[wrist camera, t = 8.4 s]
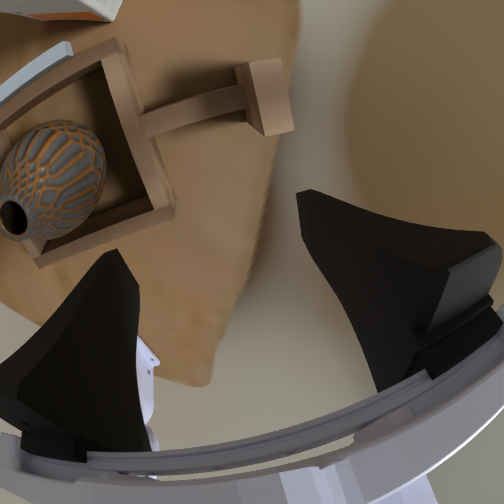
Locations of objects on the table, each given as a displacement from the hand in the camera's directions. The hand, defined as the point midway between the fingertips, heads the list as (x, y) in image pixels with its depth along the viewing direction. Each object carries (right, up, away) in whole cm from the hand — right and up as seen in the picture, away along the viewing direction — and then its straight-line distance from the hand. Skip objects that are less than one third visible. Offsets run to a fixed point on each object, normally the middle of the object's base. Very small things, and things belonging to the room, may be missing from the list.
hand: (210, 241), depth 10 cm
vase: (-11, +6, +5) cm, 14 cm away
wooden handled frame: (-7, +8, +5) cm, 12 cm away
